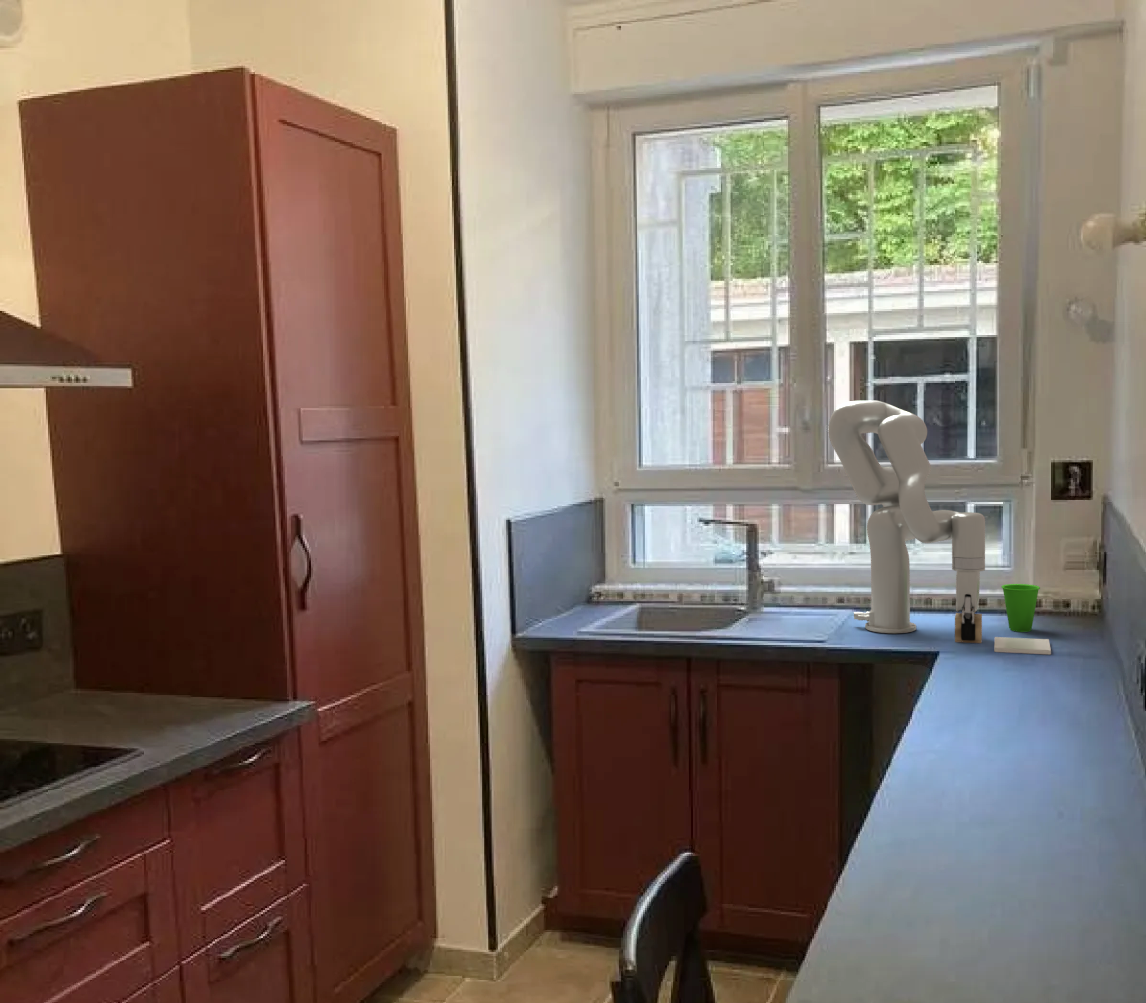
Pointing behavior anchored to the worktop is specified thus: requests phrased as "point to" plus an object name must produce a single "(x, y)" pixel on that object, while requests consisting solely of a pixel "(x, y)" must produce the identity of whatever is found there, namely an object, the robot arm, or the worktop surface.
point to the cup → (1020, 605)
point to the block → (977, 628)
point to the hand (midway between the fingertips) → (968, 636)
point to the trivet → (1022, 645)
